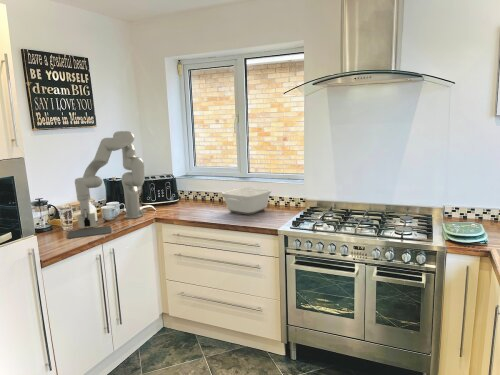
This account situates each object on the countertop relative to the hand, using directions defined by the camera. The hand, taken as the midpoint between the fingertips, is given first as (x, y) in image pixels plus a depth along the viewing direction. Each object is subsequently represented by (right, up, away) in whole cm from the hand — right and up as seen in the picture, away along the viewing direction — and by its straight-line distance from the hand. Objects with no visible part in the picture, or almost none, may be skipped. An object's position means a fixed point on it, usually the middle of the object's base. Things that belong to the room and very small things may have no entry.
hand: (87, 225), depth 238 cm
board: (0, -1, 0) cm, 1 cm away
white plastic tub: (+102, +7, +29) cm, 106 cm away
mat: (+6, -3, -10) cm, 12 cm away
